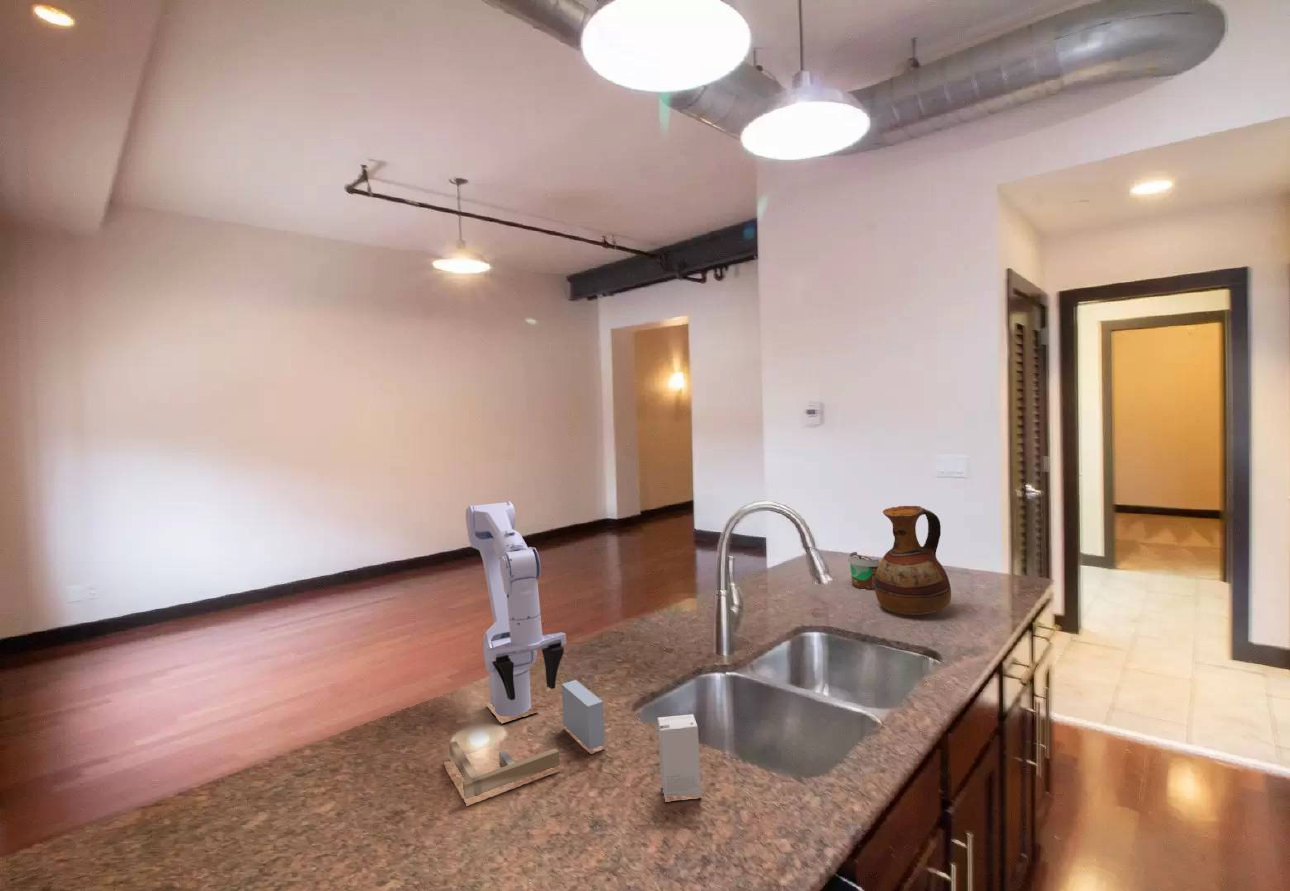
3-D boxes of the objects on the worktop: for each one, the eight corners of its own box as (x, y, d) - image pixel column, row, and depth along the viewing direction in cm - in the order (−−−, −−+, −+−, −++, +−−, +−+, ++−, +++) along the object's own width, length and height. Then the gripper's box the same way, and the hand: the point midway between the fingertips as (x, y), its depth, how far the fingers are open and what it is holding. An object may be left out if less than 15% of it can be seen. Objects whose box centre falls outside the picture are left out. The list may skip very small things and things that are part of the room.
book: (563, 729, 120) (561, 684, 120) (577, 724, 122) (575, 679, 121) (590, 755, 111) (587, 706, 110) (605, 749, 113) (602, 701, 112)
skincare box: (697, 784, 101) (694, 711, 101) (702, 801, 97) (699, 726, 96) (659, 787, 101) (656, 715, 100) (663, 805, 96) (660, 729, 96)
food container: (840, 583, 207) (839, 553, 206) (856, 580, 208) (855, 551, 208) (863, 593, 195) (863, 562, 194) (880, 591, 197) (880, 559, 196)
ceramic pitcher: (860, 603, 185) (859, 503, 183) (916, 595, 191) (915, 498, 189) (907, 625, 167) (905, 514, 165) (967, 615, 173) (967, 507, 171)
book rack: (443, 765, 110) (441, 745, 109) (529, 736, 118) (528, 717, 118) (466, 807, 98) (465, 785, 98) (560, 771, 106) (559, 751, 106)
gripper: (492, 627, 106) (499, 709, 105) (570, 611, 114) (577, 687, 113) (480, 622, 112) (486, 699, 111) (554, 607, 120) (561, 679, 119)
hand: (531, 693), depth 113 cm, fingers open, 7 cm apart
